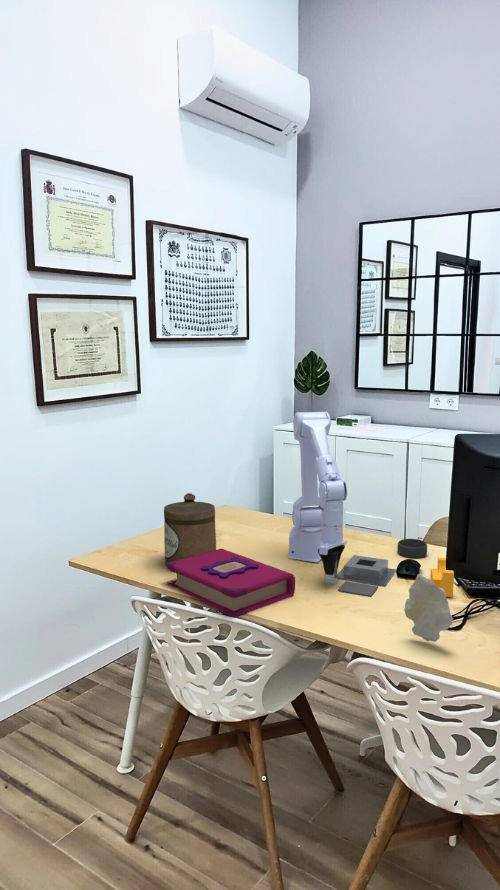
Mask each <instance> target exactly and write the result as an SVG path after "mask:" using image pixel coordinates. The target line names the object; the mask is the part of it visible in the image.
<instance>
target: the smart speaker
mask: <svg viewBox="0 0 500 890" xmlns="http://www.w3.org/2000/svg"><path fill="white" fill-rule="evenodd" d="M397 553H398V554H399V555H400V556H401V557H404V558H408V557H409V559H421V558H424V557H426V556H427V553H428V544H427V543H426V542H425V541H423V540H421V539H417V538H403V539H401V540H399V541H398V542H397Z"/></svg>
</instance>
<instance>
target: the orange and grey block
mask: <svg viewBox="0 0 500 890" xmlns="http://www.w3.org/2000/svg"><path fill="white" fill-rule="evenodd" d="M337 558H338V557H337ZM337 574H338V569H337V559H336V563H335V570H334V574H333V575H326V574H325V573H324V584H325V585H326V584H327V585H331V586H335V585H336V584H337V582H338V579H337Z"/></svg>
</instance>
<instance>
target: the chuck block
mask: <svg viewBox="0 0 500 890" xmlns="http://www.w3.org/2000/svg"><path fill="white" fill-rule="evenodd" d="M396 572H397V570H396V569H395V568H390V567H389V559H383V558H378V557H377V558H376V557H369V556H362V555H357V554H353V555H352V556H351V557H350V559H348V561H346V562H345V564H344V565H343V568H342V569H340V571H339V572H337V580H343V581H348V582H354V583H360V584H367V585H373V586H378V587H386V586H387V584H388V583H389V582H390V580H391V579H392V577H394V575H395V573H396Z"/></svg>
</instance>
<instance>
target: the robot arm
mask: <svg viewBox="0 0 500 890" xmlns="http://www.w3.org/2000/svg"><path fill="white" fill-rule="evenodd" d="M331 419H332V418H331V415H330V414H329V412H328V411H314V412H313V411H309V412H308V411H307V412H300V411H297V412H296V413H295V414H294V417H293V421H292V422H293V423H292V426H293V428H292V429H293V438H294V440H295V441H297V442H299V449H300V451H299V452H300V472H301V473H300V474H301V475H300V476H301V477H300V478H301V496H300V497H299V498H297V500H295V501H294V502H293V505H292V512H291V513H292V514H291V516H292V517H291V521H292V525H293V526H292V527H291V529H290V531H289V537H288V556H287V558H288V559H290V560H298V561H306V562H310V563H319V562H320V561H322V565H323V570H324V575H325V574H326V575H333V574H334V570H335V563H336V559H337V570H338V568H339V564H340V559H341V557H342V553H343V552H344V549H346V545H347V543H348V542H347V540H344V532H343V530H344V527H343V526H344V525H343V524H344V502H345V501H346V500H347V496H348V487H347V482H346V480H345V479H344V478H343V476H341V475H340V472H339V468H338V465H337V461H336V458H335V457H333V456H332V455H331V453H330V451H331V450H330V446H329V439H328V436H329V433H330V430H331V426H332V423H331V422H332V420H331ZM318 481H319V482H318ZM318 483H319V484H318ZM337 557H338V558H337Z"/></svg>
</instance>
